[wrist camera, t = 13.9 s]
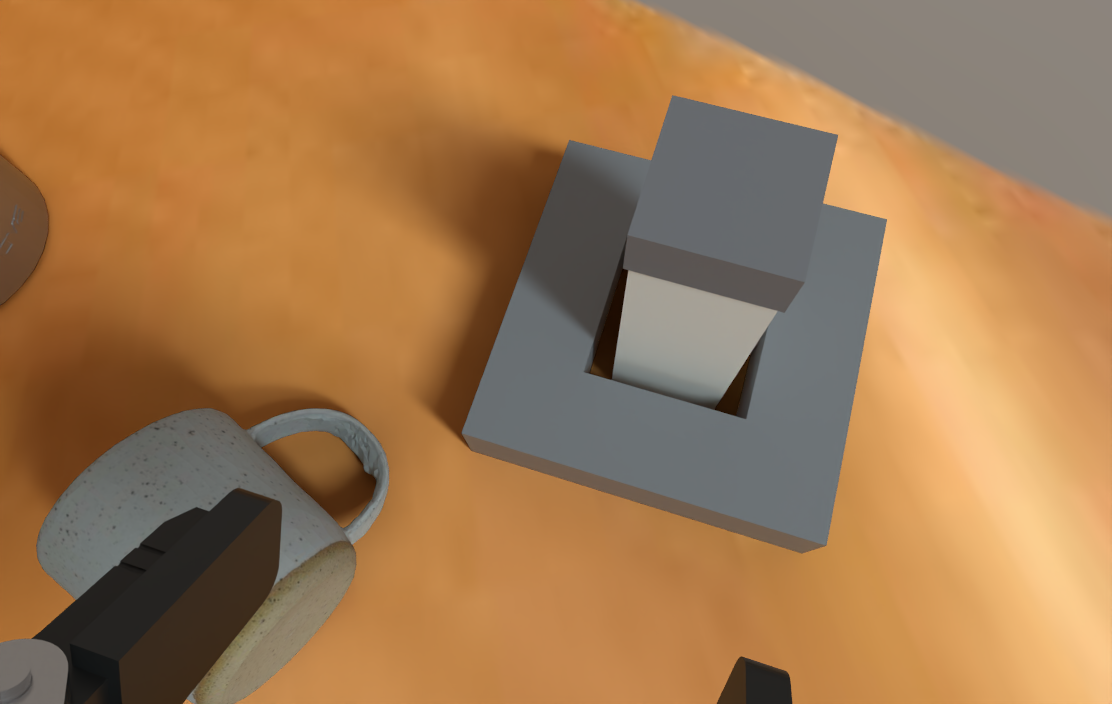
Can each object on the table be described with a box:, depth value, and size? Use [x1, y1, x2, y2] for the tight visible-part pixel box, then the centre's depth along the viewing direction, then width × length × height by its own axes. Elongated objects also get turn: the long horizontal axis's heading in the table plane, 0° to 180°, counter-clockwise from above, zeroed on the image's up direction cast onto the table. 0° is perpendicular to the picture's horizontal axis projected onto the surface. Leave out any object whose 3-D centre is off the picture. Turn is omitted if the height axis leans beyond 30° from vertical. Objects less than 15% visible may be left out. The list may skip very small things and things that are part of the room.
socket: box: [462, 140, 887, 553], centre depth 31 cm, size 14×14×4 cm
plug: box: [612, 95, 838, 410], centre depth 26 cm, size 5×5×13 cm
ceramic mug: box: [36, 408, 389, 704], centre depth 27 cm, size 11×8×8 cm
